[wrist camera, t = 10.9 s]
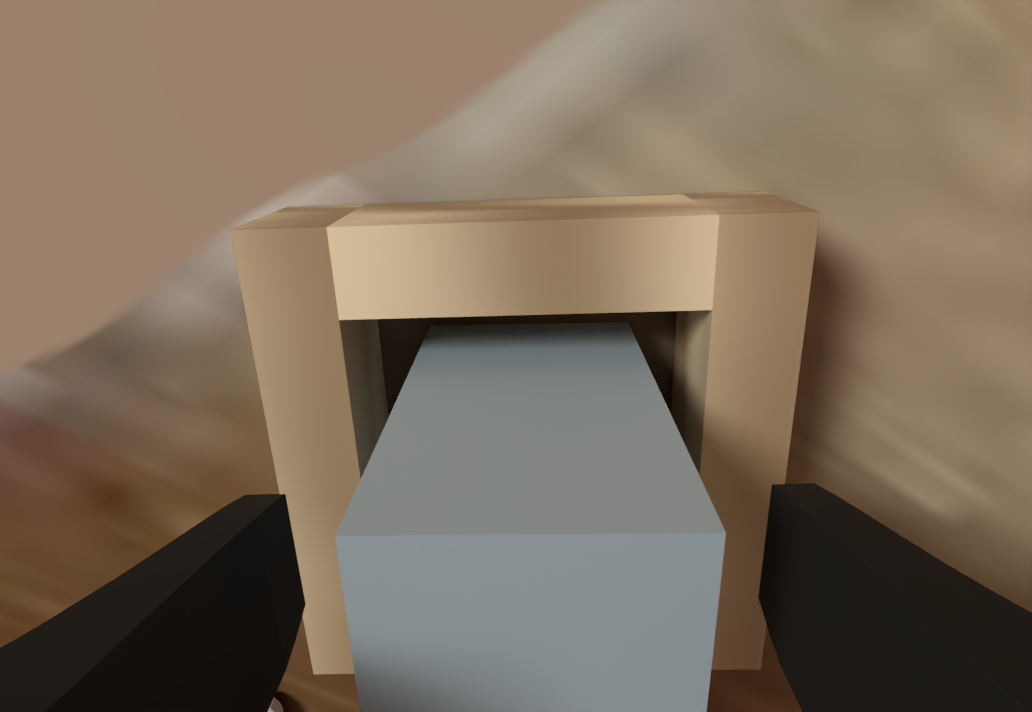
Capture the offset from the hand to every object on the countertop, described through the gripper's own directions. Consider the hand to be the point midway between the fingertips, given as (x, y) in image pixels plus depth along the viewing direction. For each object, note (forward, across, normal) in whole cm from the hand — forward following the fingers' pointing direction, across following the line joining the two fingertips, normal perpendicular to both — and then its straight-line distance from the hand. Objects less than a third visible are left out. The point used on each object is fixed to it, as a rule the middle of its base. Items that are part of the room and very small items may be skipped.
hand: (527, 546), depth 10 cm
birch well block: (+4, 0, 0) cm, 4 cm away
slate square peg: (+4, 0, 0) cm, 5 cm away
